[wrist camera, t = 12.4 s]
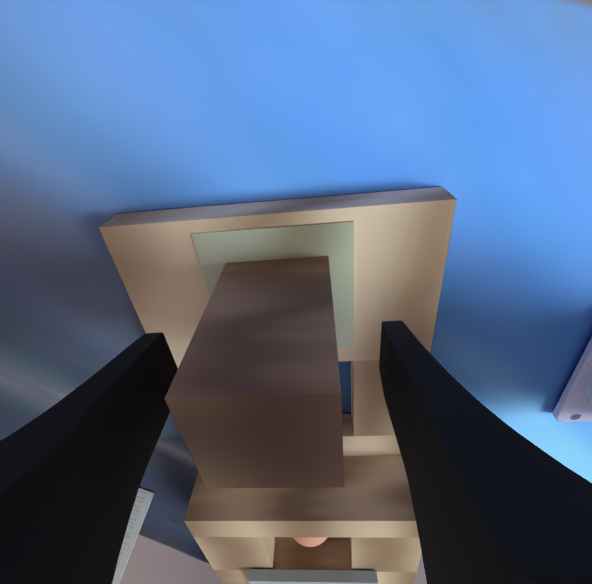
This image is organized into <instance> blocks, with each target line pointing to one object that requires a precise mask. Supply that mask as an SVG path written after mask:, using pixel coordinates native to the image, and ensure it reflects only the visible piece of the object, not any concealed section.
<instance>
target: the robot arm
mask: <svg viewBox="0 0 592 584" xmlns="http://www.w3.org/2000/svg"><path fill="white" fill-rule="evenodd" d="M177 370H178V368H177V365H176V363H175V360H174V358H173V355H172V353H171V351H170V348H169V346H168V343H167V341H166V338H165V336H164V333H163V332H161V333H145V334H144V335H143V336H141V337H140V338H139V339H137V340H136V341H135V342H134V343H132V344H131V345H130V346H129V347H127V348H126V349H125V350H124V351H122V352H121V353H120V354H119V355H118V356H116V357H115V358H114V359H113V360H112V361H110V362H109V363H108V364H107V365H105V366H104V367H103V368H102V369H101V370H99V371H98V372H97V373H96V374H94V375H93V376H92V377H91V378H89V379H88V380H87V381H86V382H84V383H83V384H82V385H80V386H79V387H78V388H76V389H75V390H74V391H73V392H71V393H70V394H69V395H67V396H66V397H65V398H63V399H62V400H61V401H59V402H58V403H57V404H55V405H54V406H53V407H51V408H50V409H48V410H47V411H46V412H44V413H43V414H41V415H40V416H38V417H37V418H35V419H34V420H32V421H31V422H29V423H28V424H26V425H25V426H23V427H22V428H20V429H19V430H17V431H16V432H14V433H13V434H11V435H9V436H8V437H6V438H4V439H3V440H1V441H0V584H112V582H113V578H114V574H115V570H116V566H117V562H118V558H119V554H120V550H121V547H122V543H123V540H124V536H125V533H126V529H127V526H128V522H129V519H130V515H131V512H132V509H133V505H134V502H135V499H136V496H137V493H138V489H139V486H140V483H141V480H142V478H143V475H144V473H145V470H146V467H147V465H148V463H149V460H150V458H151V455H152V453H153V451H154V448H155V446H156V444H157V441H158V439H159V436H160V434H161V432H162V429H163V427H164V425H165V422H166V420H167V417H168V415H169V412H170V409H169V407H168V405H167V403H166V401H165V396H166V394H167V392H168V390H169V388H170V385H171V383H172V381H173V379H174V377H175V374H176V372H177ZM379 370H380V376H381V382H382V388H383V394H384V398H385V402H386V405H387V409H388V412H389V416H390V419H391V423H392V426H393V429H394V433H395V436H396V440H397V443H398V446H399V450H400V453H401V457H402V460H403V463H404V467H405V471H406V475H407V479H408V484H409V489H410V494H411V499H412V504H413V509H414V514H415V519H416V524H417V530H418V535H419V540H420V546H421V551H422V556H423V562H424V568H425V574H426V579H427V584H592V483H590V482H589V481H587V480H586V479H584V478H583V477H581V476H580V475H578V474H576V473H575V472H573V471H572V470H570V469H569V468H567V467H566V466H564V465H563V464H561V463H560V462H558V461H557V460H555V459H554V458H552V457H551V456H549V455H548V454H547V453H545V452H544V451H542V450H541V449H540V448H538V447H537V446H535V445H534V444H533V443H531V442H530V441H528V440H527V439H526V438H524V437H523V436H521V435H520V434H519V433H517V432H516V431H515V430H513V429H512V428H511V427H509V426H508V425H507V424H506V423H504V422H503V421H502V420H501V419H499V418H498V417H497V416H496V415H495V414H493V413H492V412H491V411H490V410H488V409H487V408H486V407H485V406H484V405H483V404H481V403H480V402H479V401H478V400H477V399H476V398H475V397H474V396H472V395H471V394H470V393H469V392H468V391H467V390H466V389H465V388H464V387H463V386H462V385H461V384H460V383H459V382H457V381H456V380H455V379H454V378H453V377H452V376H451V375H450V374H449V373H448V372H447V371H446V370H445V368H444V367H443V366H442V365H441V364H440V363H439V362H438V361H437V360H436V359H435V358H434V357H433V356H432V355H431V354H430V353H429V351H428V350H427V349H426V348H425V347H424V346H423V345H422V343H421V342H420V341H419V340H418V339H417V338H416V336H415V335H414V334H413V333H412V332H411V330H410V329H409V328H408V327H407V326H406V324H405V323H404V322H403V321H402V320H399V321H382V325H381V342H380V359H379ZM553 415H554V417H555V418H556V420H557V421H560V422H583V421H592V337H591V339H590V341H589V343H588V345H587V347H586V349H585V351H584V353H583V355H582V357H581V359H580V361H579V363H578V365H577V366H576V368H575V370H574V372H573V374H572V376H571V378H570V380H569V382H568V384H567V386H566V388H565V390H564V392H563V394H562V396H561V398H560V400H559V402H558V403H557V405H556V407H555V409H554V411H553Z"/></svg>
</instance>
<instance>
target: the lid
mask: <svg viewBox="0 0 592 584" xmlns="http://www.w3.org/2000/svg"><path fill="white" fill-rule="evenodd" d="M248 582H249V584H378V579H377V572H376V571H358V570H275V569H250V570H249V578H248Z"/></svg>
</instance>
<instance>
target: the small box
mask: <svg viewBox="0 0 592 584" xmlns="http://www.w3.org/2000/svg"><path fill="white" fill-rule="evenodd" d="M153 495H154V493H153V492H150V491H147V490H144V489H141V488H139V489H138V493H137V496H136V499H135V502H134V505H133V509H132V512H131V515H130V519H129V522H128V526H127V529H126V533H125V536H124V540H123V543H122V547H121V550H120V554H119V558H118V562H117V566H116V570H115V574H114V578H113V582H112V584H119V583H120V580H121V578H122V575H123V572H124V570H125V567H126V564H127V562H128V559H129V557H130V554H131V552H132V549H133V546H134V544H135V541H136V539H137V536H138V534H139V531H140V529H141V526H142V524H143V521H144V518H145V516H146V513H147V511H148V508H149V505H150V503H151V500H152V498H153Z"/></svg>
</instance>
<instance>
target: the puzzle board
mask: <svg viewBox="0 0 592 584" xmlns="http://www.w3.org/2000/svg"><path fill="white" fill-rule="evenodd" d="M456 200H457V199H456V198H455V197H454V196H453V195H451V194H450V193H449V192H448V191H447V190H446V189H444V188H443V187H432V188H420V189H408V190H396V191H384V192H372V193H360V194H348V195H336V196H324V197H312V198H299V199H287V200H275V201H263V202H251V203H239V204H227V205H215V206H203V207H191V208H179V209H167V210H155V211H143V212H131V213H119V214H117V215H115V216H114V217H113V218H111V219H110V220H108V221H107V222H106V223H104V224H103V225H101V226H100V227H99V230H100V232H101V234H102V236H103V239H104V241H105V243H106V245H107V248H108V250H109V252H110V254H111V257H112V259H113V261H114V263H115V265H116V268H117V270H118V272H119V274H120V277H121V279H122V281H123V283H124V286H125V288H126V290H127V292H128V295H129V297H130V299H131V301H132V304H133V306H134V308H135V310H136V312H137V315H138V317H139V319H140V321H141V324H142V326H143V328H144V330H145V333H161V332H163V333H164V336H165V338H166V341H167V343H168V346H169V348H170V351H171V353H172V355H173V358H174V360H175V363H176V365H177V368H179V366H180V363H181V361H182V359H183V357H184V354H185V352H186V350H187V348H188V346H189V343H190V341H191V339H192V337H193V335H194V332H195V330H196V328H197V326H198V323H199V321H200V319H201V317H202V315H203V312H204V310H205V308H206V306H207V304H208V301H209V299H210V297H211V295H212V292H213V290H214V288H215V286H216V284H217V281H218V279H219V277H220V275H221V273H222V270H223V268H224V266H225V264H226V263H230V262H245V261H260V260H275V259H290V258H305V257H320V256H329V267H330V277H331V288H332V298H333V309H334V320H335V330H336V341H337V351H338V362H339V361H351V414H342V428H343V462H344V487H333V488H214V489H207V488H206V486H205V484H204V481H203V479H202V477H201V475H200V473H199V471H198V473H197V477H196V480H195V484H194V487H193V491H192V495H191V498H190V502H189V505H188V509H187V512H186V516H185V519H184V522H185V524H186V525H187V527H188V528H189V530H190V532H191V533H192V535H193V537H194V538H195V540H196V542H197V543H198V545H199V546H200V548H201V550H202V551H203V553H204V555H205V556H206V558H207V560H208V561H209V563H210V564H211V566H212V568H213V569H214V571H215V573H216V574H217V576H218V578H219V579H220V581H221V582H222V583H241V584H242V583H243V584H247V583H248V584H249V582H248V578H249V570H250V569H275V570H358V571H376V572H377V579H378V584H413V583H414V579H415V576H416V572H417V569H418V565H419V561H420V558H421V554H422V551H421V546H420V540H419V535H418V530H417V524H416V519H415V514H414V509H413V504H412V499H411V494H410V489H409V484H408V479H407V475H406V471H405V467H404V463H403V460H402V457H401V453H400V450H399V446H398V443H397V440H396V436H395V433H394V429H393V426H392V423H391V419H390V416H389V412H388V409H387V405H386V402H385V398H384V394H383V388H382V382H381V376H380V370H379V359H380V342H381V325H382V321H399V320H402V321H403V322H404V323H405V324H406V326H407V327H408V328H409V329H410V330H411V332H412V333H413V334H414V335H415V336H416V338H417V339H418V340H419V341H420V342H421V343H422V345H423V346H424V347H425V348H426V349H427V350H428V351H429V353H430V352H431V347H432V341H433V335H434V329H435V323H436V317H437V311H438V306H439V300H440V294H441V288H442V282H443V276H444V270H445V265H446V259H447V253H448V247H449V241H450V235H451V230H452V224H453V218H454V212H455V206H456ZM293 537H328V538H327V539H326V540H325V541H324V542H323V543H321V544H320V545H318V546H315V547H306V546H303V545H301V544H299V543H298V542H296V541H295V540H294V538H293Z"/></svg>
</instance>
